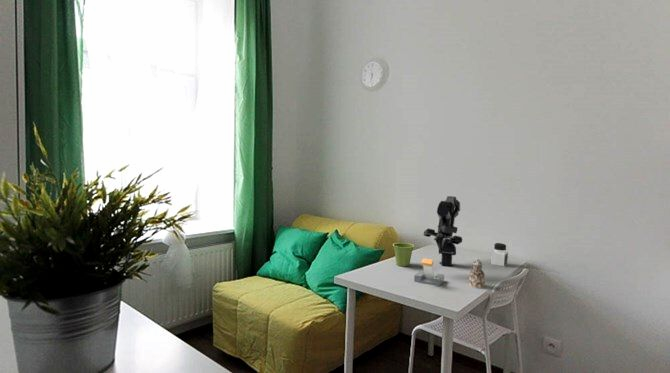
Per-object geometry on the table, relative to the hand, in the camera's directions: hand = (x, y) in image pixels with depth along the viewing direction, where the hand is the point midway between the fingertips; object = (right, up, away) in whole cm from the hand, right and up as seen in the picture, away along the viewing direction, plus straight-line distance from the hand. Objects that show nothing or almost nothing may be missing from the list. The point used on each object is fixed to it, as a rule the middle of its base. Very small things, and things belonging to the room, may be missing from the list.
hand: (440, 252), depth 189 cm
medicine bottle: (+40, -11, +24) cm, 48 cm away
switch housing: (-8, -12, -8) cm, 17 cm away
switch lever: (-8, -10, -8) cm, 15 cm away
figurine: (+13, -14, -13) cm, 23 cm away
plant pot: (-16, -10, +19) cm, 27 cm away
